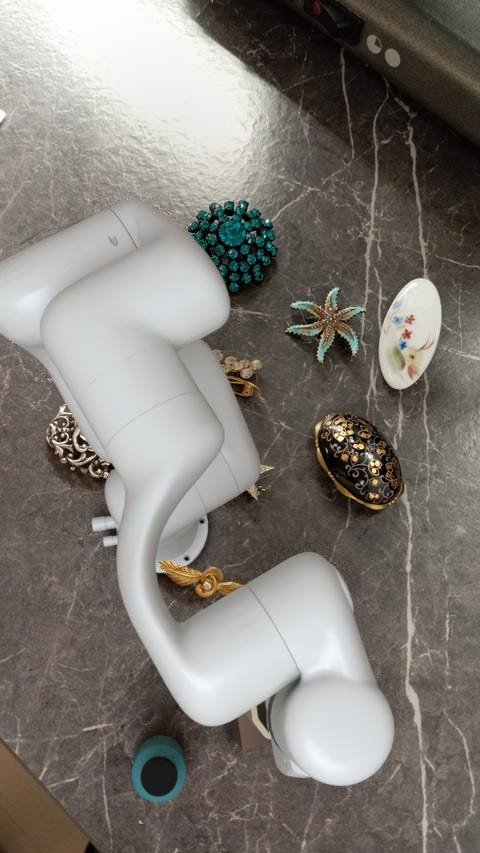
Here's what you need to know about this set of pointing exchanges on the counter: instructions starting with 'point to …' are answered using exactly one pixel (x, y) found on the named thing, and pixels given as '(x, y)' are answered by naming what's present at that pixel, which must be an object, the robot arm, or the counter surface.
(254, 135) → the counter surface
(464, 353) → the counter surface
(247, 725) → the stand
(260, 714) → the cream cup
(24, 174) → the counter surface
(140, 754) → the beverage bottle
